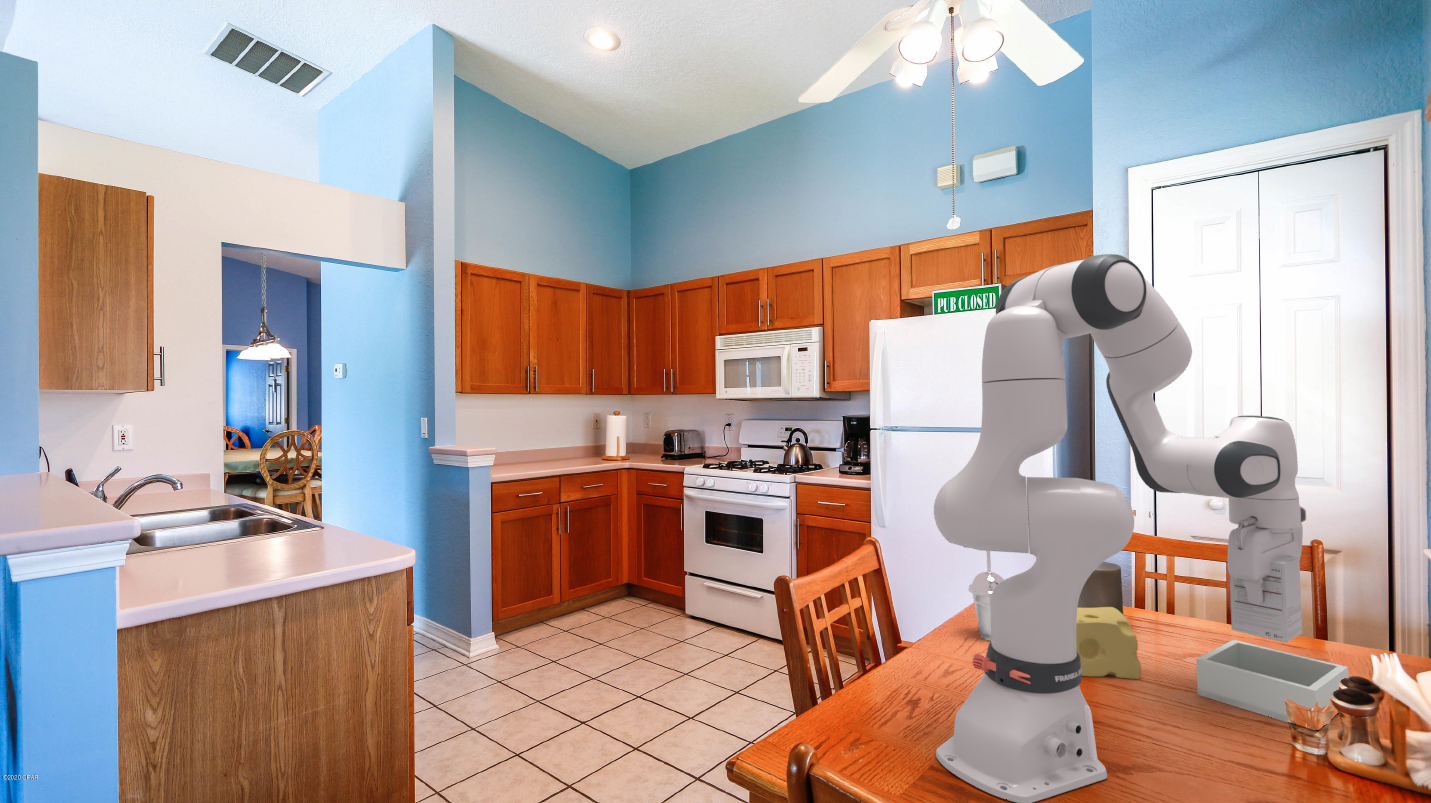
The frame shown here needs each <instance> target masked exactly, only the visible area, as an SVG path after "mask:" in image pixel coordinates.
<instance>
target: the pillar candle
mask: <svg viewBox="0 0 1431 803" xmlns="http://www.w3.org/2000/svg"><path fill="white" fill-rule="evenodd" d="M1122 582H1123V581H1122V568H1121V566H1120V565H1119V564H1116V563H1112V562H1107V561H1104V562H1103V563H1102V564H1100V565H1099V566H1098V567H1097V568H1096V569H1095V570H1094V571H1093V572H1092V574H1091V575H1090V576H1089V578H1088V579H1087V581H1086V583H1085V584H1084V586H1083V588H1082V591H1081V594H1080V597H1079V601H1078V607H1077V608H1098V607H1114V608H1116V609H1117V610H1119V611H1120V612H1121V613H1122V614H1123V615H1124V603H1123V583H1122Z"/></svg>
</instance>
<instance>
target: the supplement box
mask: <svg viewBox="0 0 1431 803" xmlns="http://www.w3.org/2000/svg"><path fill="white" fill-rule="evenodd" d="M1300 563H1301V562H1300V560H1299V557H1295V556H1290V555H1286V556H1283V557H1280V558H1277V559H1275V560H1273V561H1271V574H1270V575H1267V576H1265V577H1263V578H1262V580H1263V582H1262V583H1261V586H1262V591H1263V592H1265V597H1264V598H1265V601H1264V602H1263V603H1261V604H1254V603H1250V602H1249V601H1248V598H1247V590H1246V588H1245V585H1244V583H1243V579H1240V578H1235V577H1232V576H1230V575H1229V595H1230V615H1231V616H1230V619H1231V620H1230V621H1231V624H1230V625H1231V630H1232V631H1235V632H1239V633H1243V634H1247V635H1251V636H1256V637H1260V638H1264V639H1268V640H1273V641H1277V642H1282V643H1288V642H1290V641H1291V640H1294V639H1295V638H1296V637H1298V636H1300V635H1302V634H1303V619H1302V614H1303V613H1302V595H1301V571H1300V570H1301V569H1300V568H1301V567H1300V565H1301V564H1300Z"/></svg>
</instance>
